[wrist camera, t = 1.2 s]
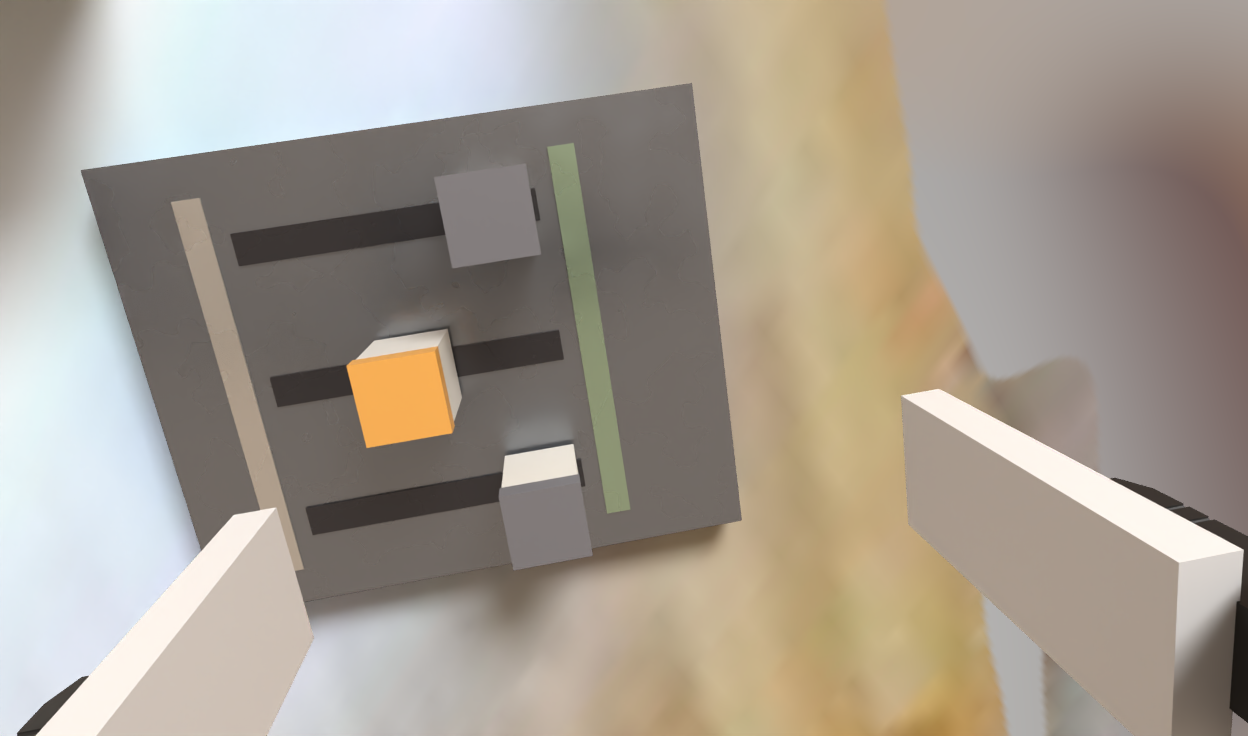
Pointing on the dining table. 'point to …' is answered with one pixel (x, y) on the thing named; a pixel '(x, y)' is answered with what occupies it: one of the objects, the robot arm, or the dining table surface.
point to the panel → (423, 302)
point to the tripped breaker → (406, 388)
